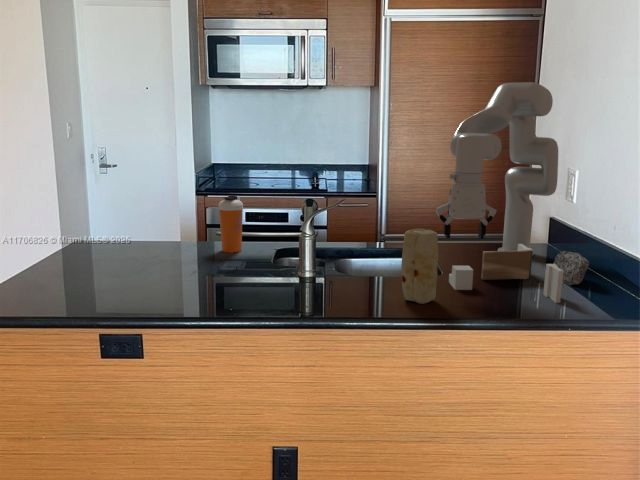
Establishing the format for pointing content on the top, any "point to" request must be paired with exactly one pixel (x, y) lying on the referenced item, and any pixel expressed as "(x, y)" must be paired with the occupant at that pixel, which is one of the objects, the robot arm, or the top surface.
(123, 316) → the top surface
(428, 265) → the food model
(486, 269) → the door
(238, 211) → the shaker bottle
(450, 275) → the white stepped block
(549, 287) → the door frame
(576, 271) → the rock
